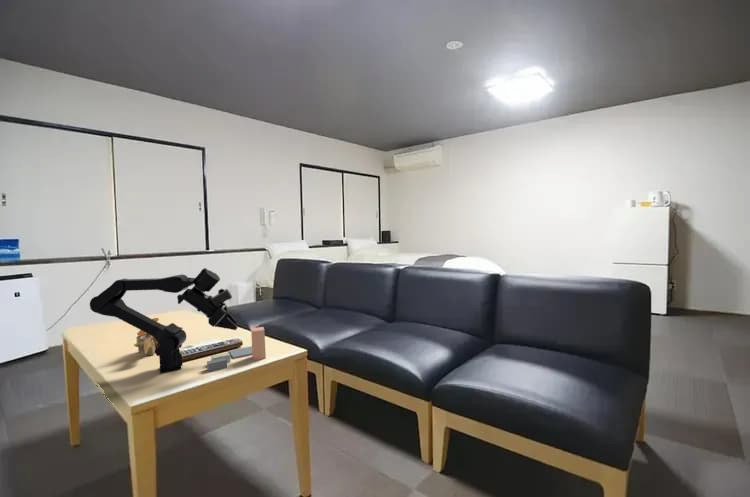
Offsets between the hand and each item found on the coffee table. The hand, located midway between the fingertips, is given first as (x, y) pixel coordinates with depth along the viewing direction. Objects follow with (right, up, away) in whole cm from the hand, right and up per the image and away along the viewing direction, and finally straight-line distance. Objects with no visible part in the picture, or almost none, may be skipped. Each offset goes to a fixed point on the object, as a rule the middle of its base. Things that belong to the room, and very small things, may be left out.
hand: (236, 326), depth 131 cm
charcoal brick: (-4, -14, -7) cm, 16 cm away
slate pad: (0, -13, +9) cm, 16 cm away
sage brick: (-5, -14, -1) cm, 15 cm away
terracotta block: (+7, -13, +3) cm, 15 cm away
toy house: (-38, -14, +9) cm, 41 cm away
